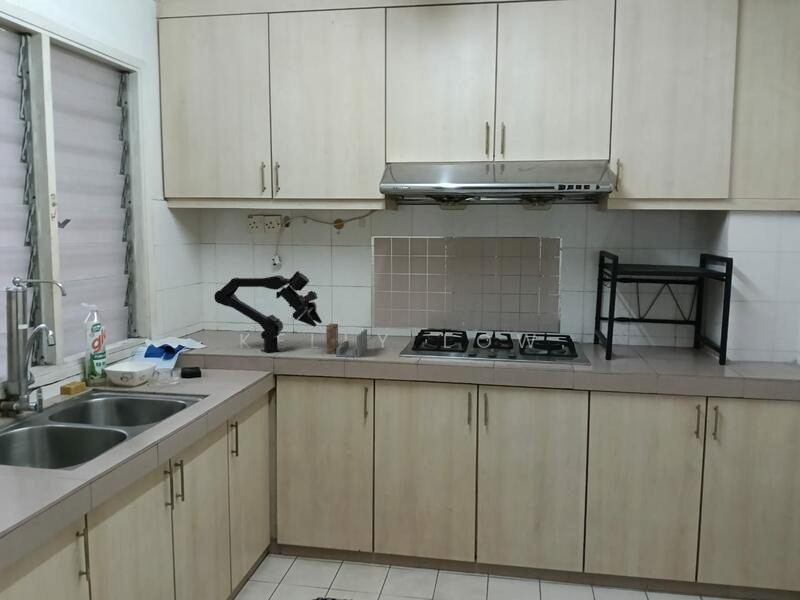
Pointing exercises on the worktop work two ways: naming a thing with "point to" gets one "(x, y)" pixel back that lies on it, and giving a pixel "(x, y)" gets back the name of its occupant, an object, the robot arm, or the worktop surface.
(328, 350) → the brown wooden block
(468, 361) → the worktop surface
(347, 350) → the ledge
